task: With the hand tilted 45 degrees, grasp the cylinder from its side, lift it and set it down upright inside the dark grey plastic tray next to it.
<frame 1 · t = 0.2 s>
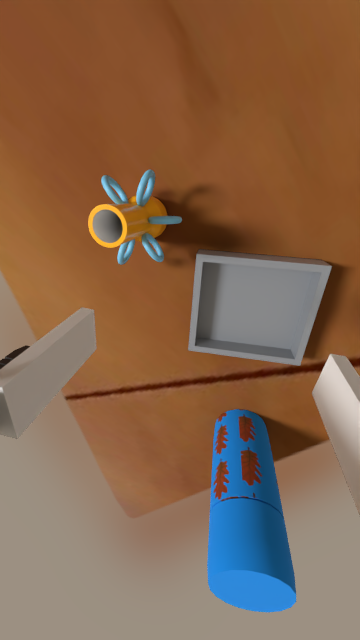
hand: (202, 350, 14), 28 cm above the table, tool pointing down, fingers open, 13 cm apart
tray: (249, 303, 41), on the table
thermos: (240, 427, 53), on the table
cylinder: (149, 217, 38), on the table
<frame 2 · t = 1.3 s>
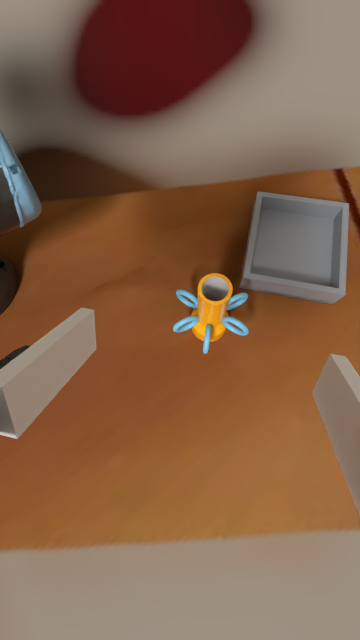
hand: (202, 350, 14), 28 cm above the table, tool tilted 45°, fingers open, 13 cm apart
tray: (289, 252, 47), on the table
cylinder: (208, 325, 44), on the table
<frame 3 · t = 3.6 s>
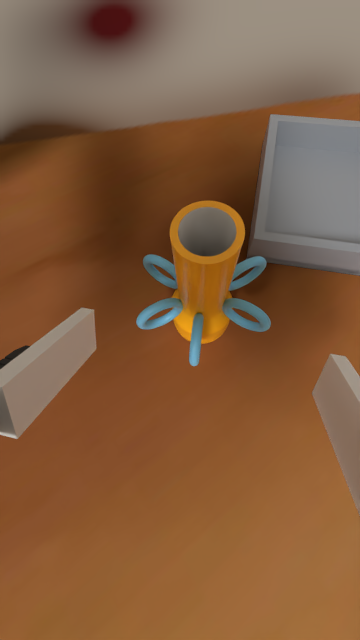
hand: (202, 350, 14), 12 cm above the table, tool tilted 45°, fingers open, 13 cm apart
tray: (320, 205, 31), on the table
cylinder: (200, 317, 28), on the table
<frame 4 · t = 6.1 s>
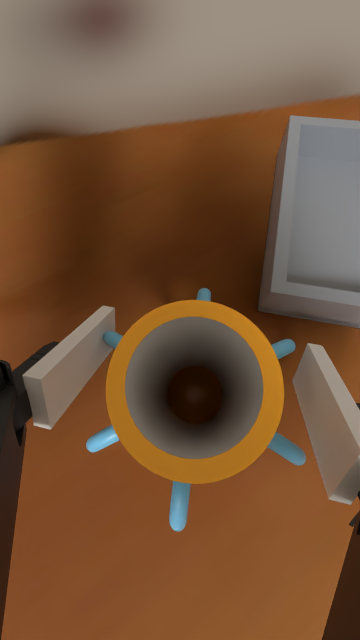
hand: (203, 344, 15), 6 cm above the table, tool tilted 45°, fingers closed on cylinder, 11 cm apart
tray: (355, 236, 23), on the table
cylinder: (194, 395, 20), on the table, touching gripper
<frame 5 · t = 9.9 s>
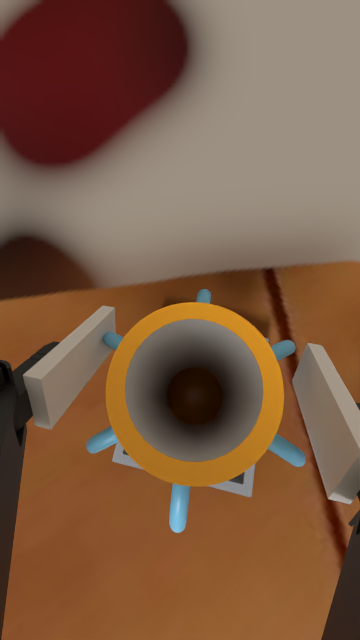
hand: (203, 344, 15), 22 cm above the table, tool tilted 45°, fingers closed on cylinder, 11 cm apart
tray: (194, 397, 35), on the table
cylinder: (194, 396, 20), point 15 cm above the table, touching gripper
when the fingers open (9 cm above the table, at t = 13.8 s): cylinder drops 1 cm, resting on tray.
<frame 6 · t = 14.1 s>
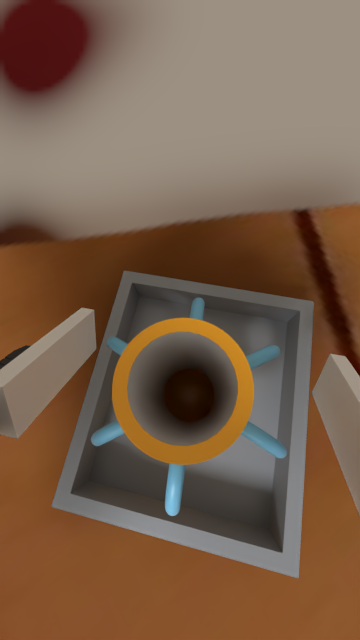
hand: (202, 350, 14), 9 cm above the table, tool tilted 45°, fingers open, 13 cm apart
tray: (194, 395, 22), on the table
cylinder: (190, 395, 22), point 1 cm above the table, touching tray
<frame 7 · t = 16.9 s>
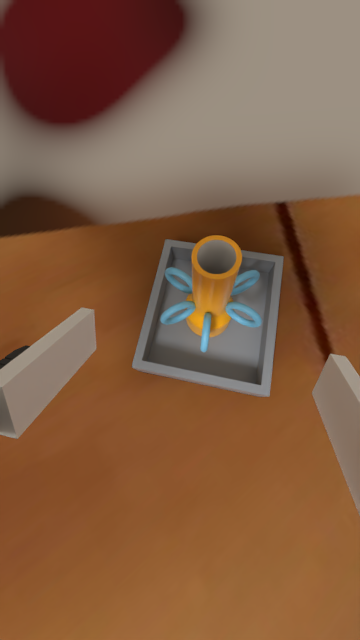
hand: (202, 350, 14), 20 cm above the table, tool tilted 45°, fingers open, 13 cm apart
tray: (209, 318, 35), on the table
cylinder: (207, 316, 35), point 1 cm above the table, touching tray
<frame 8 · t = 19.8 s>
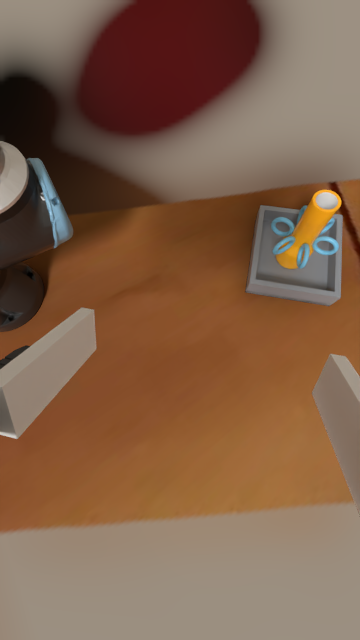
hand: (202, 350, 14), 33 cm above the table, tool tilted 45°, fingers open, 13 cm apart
tray: (290, 259, 52), on the table
cylinder: (289, 257, 51), point 1 cm above the table, touching tray
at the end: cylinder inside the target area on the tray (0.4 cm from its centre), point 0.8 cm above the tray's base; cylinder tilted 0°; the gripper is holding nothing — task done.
